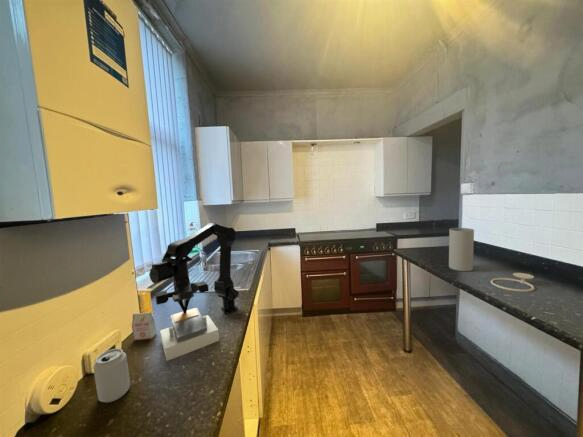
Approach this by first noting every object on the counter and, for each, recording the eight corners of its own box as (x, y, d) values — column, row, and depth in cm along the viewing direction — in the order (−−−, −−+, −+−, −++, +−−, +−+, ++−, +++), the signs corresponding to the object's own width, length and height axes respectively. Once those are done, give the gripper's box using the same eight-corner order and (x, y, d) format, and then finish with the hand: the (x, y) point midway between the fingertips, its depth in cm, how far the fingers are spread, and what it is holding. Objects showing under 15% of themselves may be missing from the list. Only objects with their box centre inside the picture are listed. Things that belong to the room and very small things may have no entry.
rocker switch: (170, 319, 96) (169, 315, 95) (197, 310, 101) (197, 306, 101) (176, 342, 84) (176, 337, 84) (207, 331, 90) (207, 326, 90)
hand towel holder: (482, 274, 132) (511, 269, 137) (482, 282, 133) (510, 277, 138) (518, 285, 116) (549, 279, 121) (517, 294, 116) (548, 288, 121)
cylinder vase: (465, 265, 160) (466, 227, 158) (477, 271, 148) (478, 230, 145) (444, 265, 162) (445, 228, 159) (455, 272, 149) (456, 231, 146)
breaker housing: (161, 341, 94) (159, 322, 93) (208, 325, 104) (207, 307, 103) (166, 361, 83) (163, 339, 82) (219, 340, 93) (217, 321, 92)
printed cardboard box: (138, 334, 100) (135, 311, 99) (156, 333, 100) (153, 310, 99) (133, 340, 96) (130, 316, 95) (151, 338, 96) (148, 314, 95)
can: (93, 398, 69) (87, 358, 67) (123, 380, 75) (117, 343, 74) (105, 409, 65) (99, 367, 64) (135, 389, 71) (130, 351, 70)
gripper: (155, 287, 83) (160, 330, 85) (210, 274, 94) (214, 312, 95) (152, 278, 93) (157, 317, 94) (203, 267, 103) (206, 302, 105)
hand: (184, 312), depth 97 cm, fingers closed, pressing on rocker switch
